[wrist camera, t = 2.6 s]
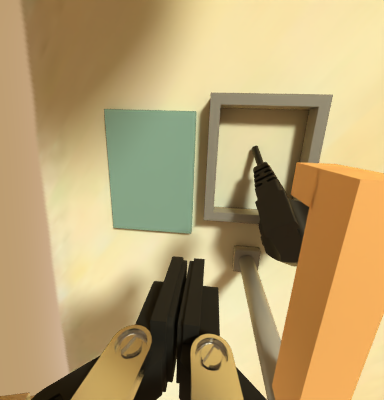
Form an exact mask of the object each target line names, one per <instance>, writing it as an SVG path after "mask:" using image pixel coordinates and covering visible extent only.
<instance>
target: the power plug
mask: <svg viewBox="0 0 384 400" xmlns="http://www.w3.org/2000/svg"><path fill="white" fill-rule="evenodd" d="M252 151H253V154H254V157H255V160H256V163H257V166H256V167H254V169H253V171H254V178H255V179H254V182H255V187H256V188H255V192H256V195H257V198H258V199H257V201H256V202H255V203H256V206H257V210H258V213H259V217H260V222H259V225H258V226H259V229H260V233H261V240H262V244H263V246H264V247H265V251H266V253H267V254H268V255H269V256H271V257H272V258H274V259H275V260H278V261H280V262H283V263H286V264H288V265H291V266H297V264H298V260H299V255H300V250H301V245H302V241H303V236H304V231H305V226H306V222H307V217H308V212H309V207H308V206H307V205H305V204H304V203H303V202H300V201H296V200H292V199H289V198H288V197H287V195H286V192H285V191H284V188H283V186H282V185H281V184H280V182H279V180H278V179H277V177H276V175H275V174H274V172H273V171H272V169H271V167H270V166H269V165H268V164H267V162H264V163H263V160H262V157H261V154H260V151H259V149H258V146H254V147H253V148H252Z"/></svg>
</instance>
